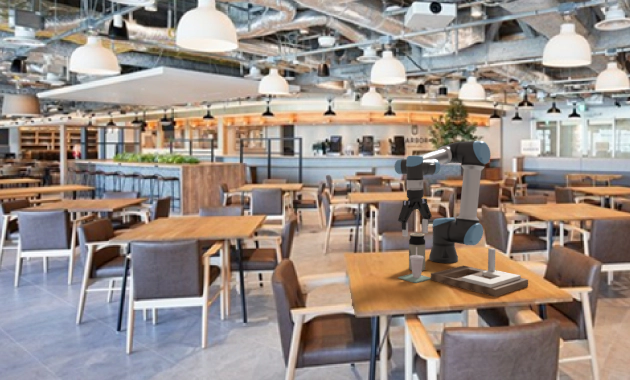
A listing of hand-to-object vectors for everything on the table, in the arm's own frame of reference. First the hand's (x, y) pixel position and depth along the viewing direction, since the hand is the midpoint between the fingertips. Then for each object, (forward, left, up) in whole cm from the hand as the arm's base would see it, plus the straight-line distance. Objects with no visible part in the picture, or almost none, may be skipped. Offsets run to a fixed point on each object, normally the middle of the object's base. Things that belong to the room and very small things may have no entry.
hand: (415, 234), depth 215 cm
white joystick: (+30, +15, -17) cm, 38 cm away
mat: (0, 0, -21) cm, 21 cm away
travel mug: (-11, +14, -21) cm, 27 cm away
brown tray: (+23, +16, -21) cm, 34 cm away
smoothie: (0, +1, -20) cm, 20 cm away
